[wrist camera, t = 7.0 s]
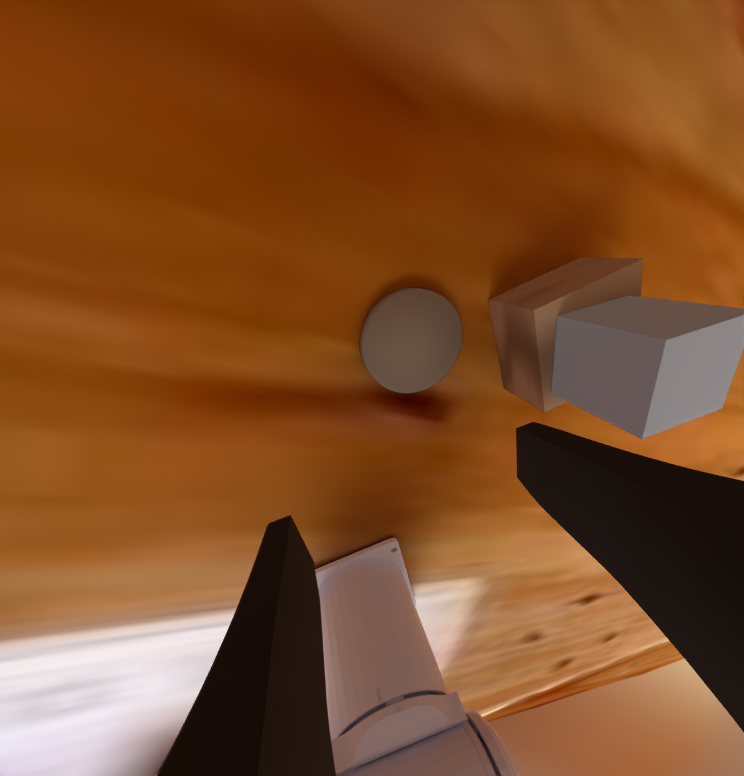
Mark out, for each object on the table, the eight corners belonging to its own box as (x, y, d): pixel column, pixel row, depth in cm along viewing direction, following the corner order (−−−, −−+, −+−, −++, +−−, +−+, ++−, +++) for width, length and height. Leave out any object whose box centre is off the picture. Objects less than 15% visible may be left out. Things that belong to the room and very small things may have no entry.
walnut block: (579, 348, 22) (636, 366, 19) (501, 386, 22) (544, 412, 18) (576, 257, 19) (642, 258, 16) (485, 299, 19) (533, 310, 15)
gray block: (615, 371, 18) (721, 408, 14) (551, 393, 18) (642, 439, 13) (628, 295, 16) (757, 310, 12) (557, 316, 16) (666, 340, 11)
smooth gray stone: (456, 369, 20) (466, 375, 19) (370, 397, 19) (376, 406, 18) (446, 275, 18) (457, 276, 16) (346, 303, 17) (351, 306, 16)
